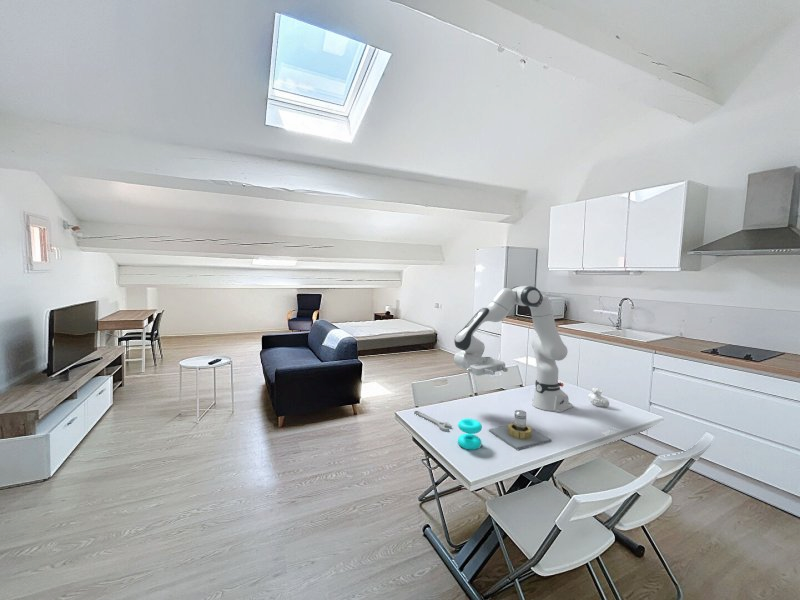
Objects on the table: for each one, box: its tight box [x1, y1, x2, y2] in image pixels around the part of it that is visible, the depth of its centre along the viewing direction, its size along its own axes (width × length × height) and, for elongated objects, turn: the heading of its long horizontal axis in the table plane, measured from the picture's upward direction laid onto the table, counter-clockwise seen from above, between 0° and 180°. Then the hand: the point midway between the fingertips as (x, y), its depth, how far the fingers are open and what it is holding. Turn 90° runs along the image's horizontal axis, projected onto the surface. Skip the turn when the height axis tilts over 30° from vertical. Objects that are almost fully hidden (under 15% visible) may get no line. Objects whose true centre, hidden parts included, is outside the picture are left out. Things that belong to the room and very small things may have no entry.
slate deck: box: [488, 424, 553, 451], centre depth 151 cm, size 20×18×1 cm
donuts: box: [457, 418, 483, 451], centre depth 143 cm, size 10×10×10 cm
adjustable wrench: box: [413, 410, 453, 432], centre depth 166 cm, size 25×6×2 cm, turn 34°
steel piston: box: [513, 409, 527, 431], centre depth 151 cm, size 5×5×10 cm
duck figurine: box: [588, 387, 610, 408], centre depth 189 cm, size 12×8×11 cm
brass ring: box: [508, 422, 532, 439], centre depth 151 cm, size 10×10×3 cm
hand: (500, 371), depth 160 cm, fingers open, 8 cm apart
